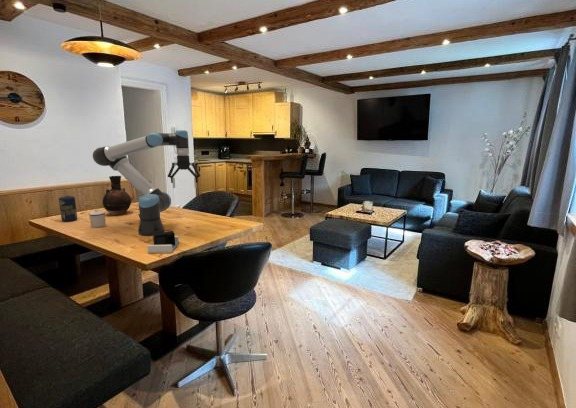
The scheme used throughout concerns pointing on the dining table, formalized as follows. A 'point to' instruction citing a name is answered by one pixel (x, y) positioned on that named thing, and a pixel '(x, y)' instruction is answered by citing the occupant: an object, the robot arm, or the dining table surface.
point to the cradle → (163, 247)
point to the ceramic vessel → (116, 198)
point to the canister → (68, 208)
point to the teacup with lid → (97, 218)
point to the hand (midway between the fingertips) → (184, 187)
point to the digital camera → (164, 238)
